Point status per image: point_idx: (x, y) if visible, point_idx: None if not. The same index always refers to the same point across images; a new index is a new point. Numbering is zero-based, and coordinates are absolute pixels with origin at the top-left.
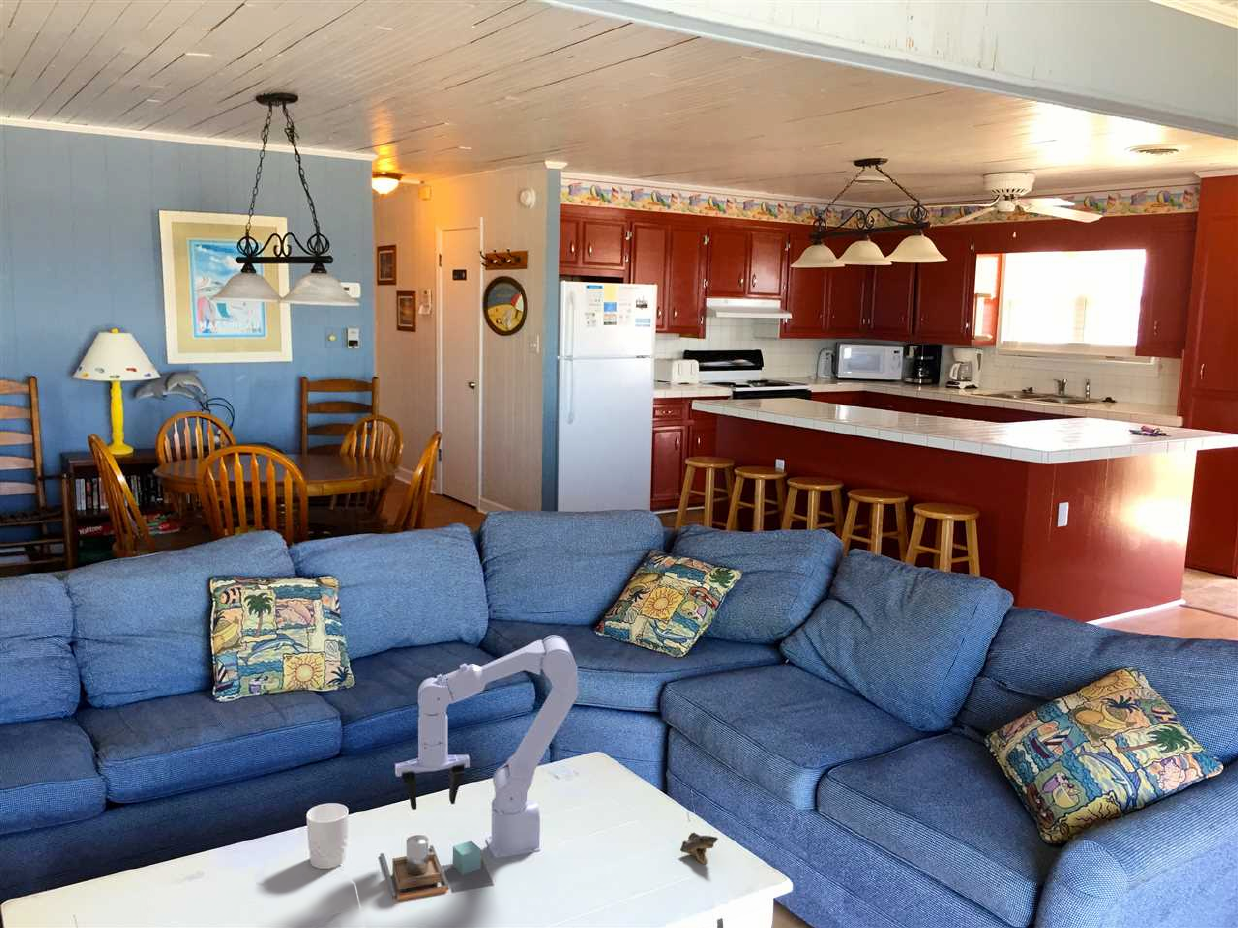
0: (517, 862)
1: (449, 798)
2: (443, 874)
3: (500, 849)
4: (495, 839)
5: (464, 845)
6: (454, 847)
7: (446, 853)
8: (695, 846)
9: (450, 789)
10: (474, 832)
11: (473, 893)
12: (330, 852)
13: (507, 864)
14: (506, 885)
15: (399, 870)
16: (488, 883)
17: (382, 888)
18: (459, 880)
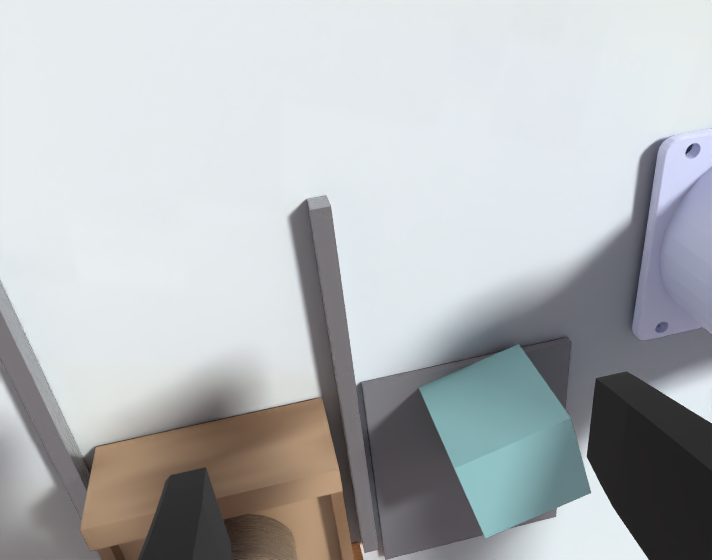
0: (707, 362)
1: (605, 401)
2: (364, 478)
3: (685, 311)
4: (702, 316)
5: (519, 461)
6: (460, 479)
7: (402, 256)
8: None
9: (681, 501)
10: (628, 12)
11: (464, 546)
12: None
13: (661, 374)
14: (597, 503)
15: (139, 554)
16: None
17: (62, 529)
18: (428, 490)
